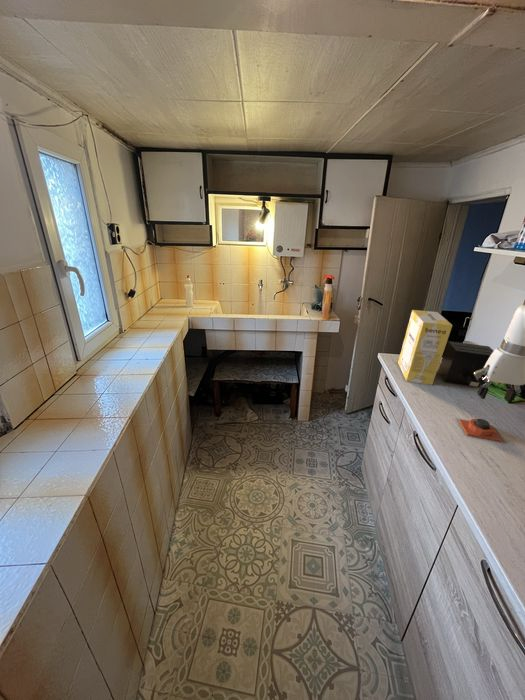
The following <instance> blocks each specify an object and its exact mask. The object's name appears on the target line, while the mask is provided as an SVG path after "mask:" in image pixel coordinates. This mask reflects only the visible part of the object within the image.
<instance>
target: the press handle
mask: <svg viewBox="0 0 525 700" xmlns="http://www.w3.org/2000/svg"><path fill="white" fill-rule="evenodd" d="M465 380H466V381H467V382H468V384H469V385H471V386H470V387H472V386H477V387H476V388H479V387H478V385H479V382H478V381H477V379H476V378H475V377H474V376H471V375H466V376H465Z"/></svg>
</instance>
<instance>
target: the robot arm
mask: <svg viewBox="0 0 525 700" xmlns="http://www.w3.org/2000/svg"><path fill="white" fill-rule="evenodd" d="M499 346H500V347H495V349H493V350H494V351H493V353H492V354H491V356H490V357H489V359H488V360H487V362H486V364H485V366H484V368H483V369H480V370H478V371H476V372H474V373H473V374H474V375H475V377H476V378H477V380H478V381H479V383H480V384H481V385H480V387H478V390H477V395H478V397H479V398H480V399H481V400H485V399H486V396H487V394H488V392H489V387H490V386H491V385H492V384H493V383H500V384H505V385H506V384H507V385H510V387H508V388H507V390H506V392H505V394H504V397H503V399H504V400H505V401H506V402H507V404H509V405H511V404H513V401H514V400H515V399H516V396H517V395H518V394H520V393H521V392H522V391H523V390H524V391H525V304H522V305H520V306H518V307H517V308H516V309H515V312H514V314H513V316H512V318H511V321H510V323H509V326H508V327H507V330H506V332H505V335H504V337H503V340H502V342H501V344H500V345H499ZM483 374H484V375H486V377H484V378H483V379H482V378H481V375H483Z"/></svg>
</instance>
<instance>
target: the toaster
mask: <svg viewBox="0 0 525 700" xmlns="http://www.w3.org/2000/svg"><path fill="white" fill-rule="evenodd" d="M494 350H495V349H493V348H492V347H491V346H489V345H481V344H478V345H474V344H466V343H463V342H460V341H459V342H458V341H449V340H447V343H446V346H445V349H444V352H443V355H442V358H441V361H440V364H439V367H438V369H437V372H438V373H439V375H440V376H441V378H442V380H443V381H444V383H446V384H447V383H448V384H455V385H460V386H467V387H472V388H473V387H474V388H479V387H480V385H481V384H480V383H479V385H478V387H477V386H471V385H469V384H468V382H467V381H466V380H465V376H466V375H471V376H474V377H475V375H474V374H473V373H474V372H476V371H478V370H480V369H483V368H484V366H485V364H486V362H487V360H488V359H489V357H490V356H491V354H492V353H493V351H494ZM484 377H486V375H484V374H483V375H481V378H482V379H483V378H484ZM475 378H476V377H475ZM476 379H477V378H476ZM477 381H478V380H477ZM478 382H479V381H478Z"/></svg>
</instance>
